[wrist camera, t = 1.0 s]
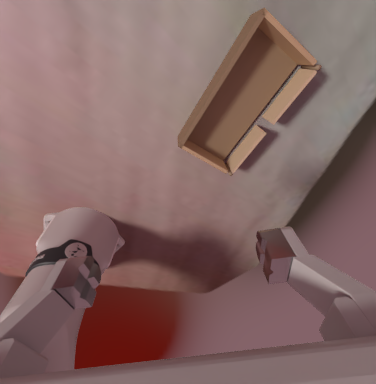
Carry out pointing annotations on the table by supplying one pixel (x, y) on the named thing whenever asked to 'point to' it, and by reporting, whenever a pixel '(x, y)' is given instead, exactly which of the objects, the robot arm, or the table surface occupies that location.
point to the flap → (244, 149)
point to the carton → (242, 88)
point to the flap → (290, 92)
